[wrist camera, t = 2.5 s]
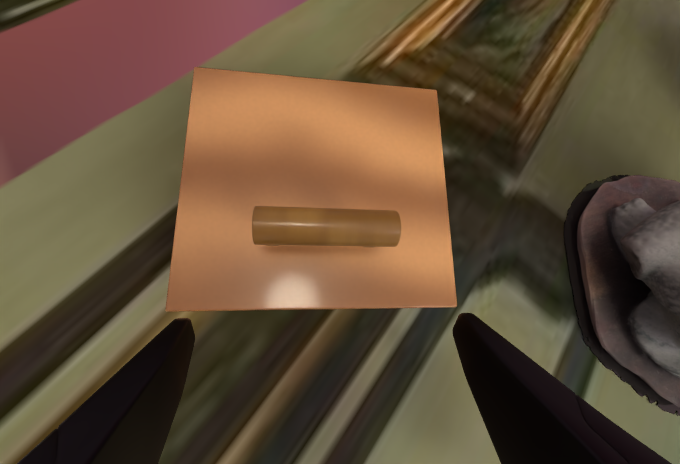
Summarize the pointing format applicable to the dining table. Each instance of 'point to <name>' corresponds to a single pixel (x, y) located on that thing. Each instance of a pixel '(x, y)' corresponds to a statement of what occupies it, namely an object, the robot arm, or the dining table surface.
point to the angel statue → (630, 280)
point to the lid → (310, 197)
